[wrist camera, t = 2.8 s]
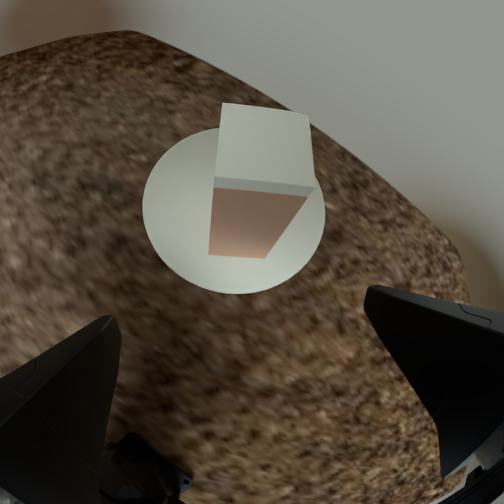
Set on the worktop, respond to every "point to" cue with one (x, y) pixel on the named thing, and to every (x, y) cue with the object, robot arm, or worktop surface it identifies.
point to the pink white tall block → (258, 178)
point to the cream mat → (199, 218)
